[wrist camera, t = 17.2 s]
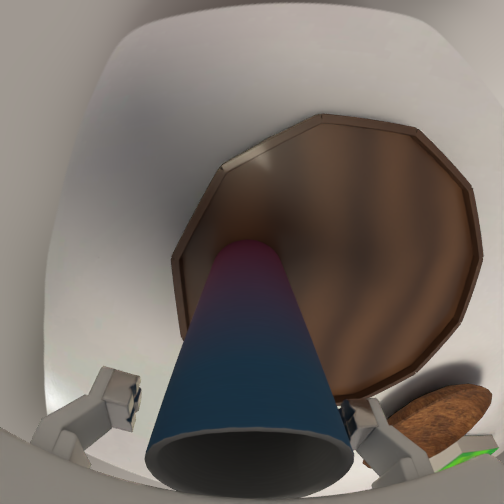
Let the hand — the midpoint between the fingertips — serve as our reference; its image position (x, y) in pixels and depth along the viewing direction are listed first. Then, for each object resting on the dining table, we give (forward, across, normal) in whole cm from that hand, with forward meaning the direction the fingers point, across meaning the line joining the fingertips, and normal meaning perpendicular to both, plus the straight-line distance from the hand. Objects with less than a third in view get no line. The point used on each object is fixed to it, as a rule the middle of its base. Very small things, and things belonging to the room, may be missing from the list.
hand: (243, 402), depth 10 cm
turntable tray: (+13, -8, +1) cm, 15 cm away
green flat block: (+14, -57, +47) cm, 75 cm away
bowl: (+14, -31, +20) cm, 39 cm away
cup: (+12, 0, 0) cm, 12 cm away
